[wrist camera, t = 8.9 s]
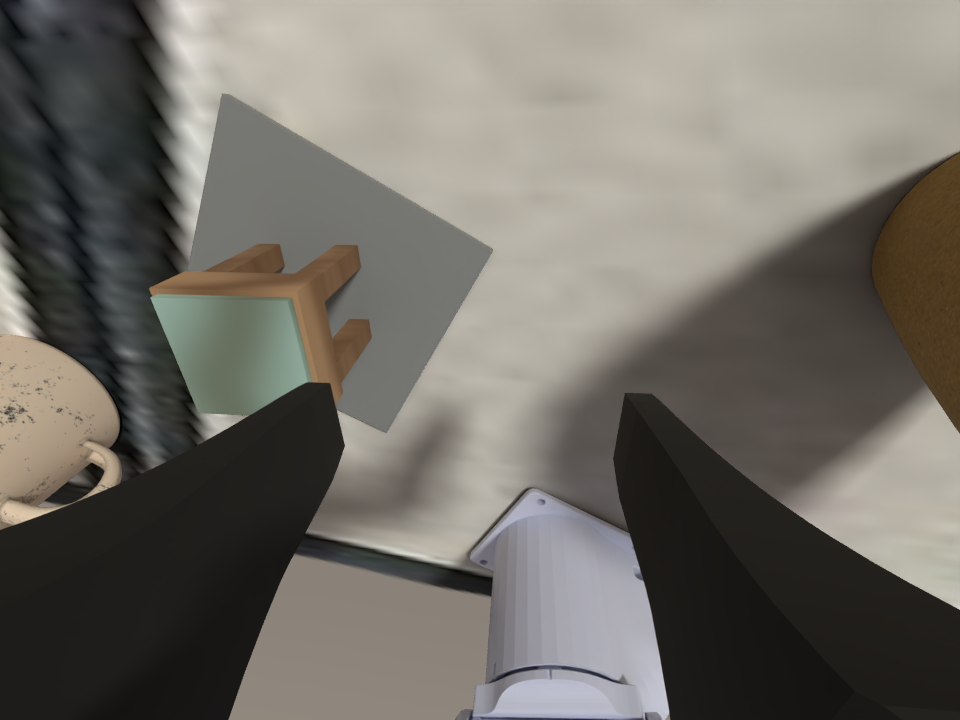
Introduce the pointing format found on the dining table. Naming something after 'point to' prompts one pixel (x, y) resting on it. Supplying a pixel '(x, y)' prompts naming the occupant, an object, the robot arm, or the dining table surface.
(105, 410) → the teacup with lid
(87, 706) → the robot arm
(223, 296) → the stool
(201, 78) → the dining table surface
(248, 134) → the mat
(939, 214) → the plant pot
